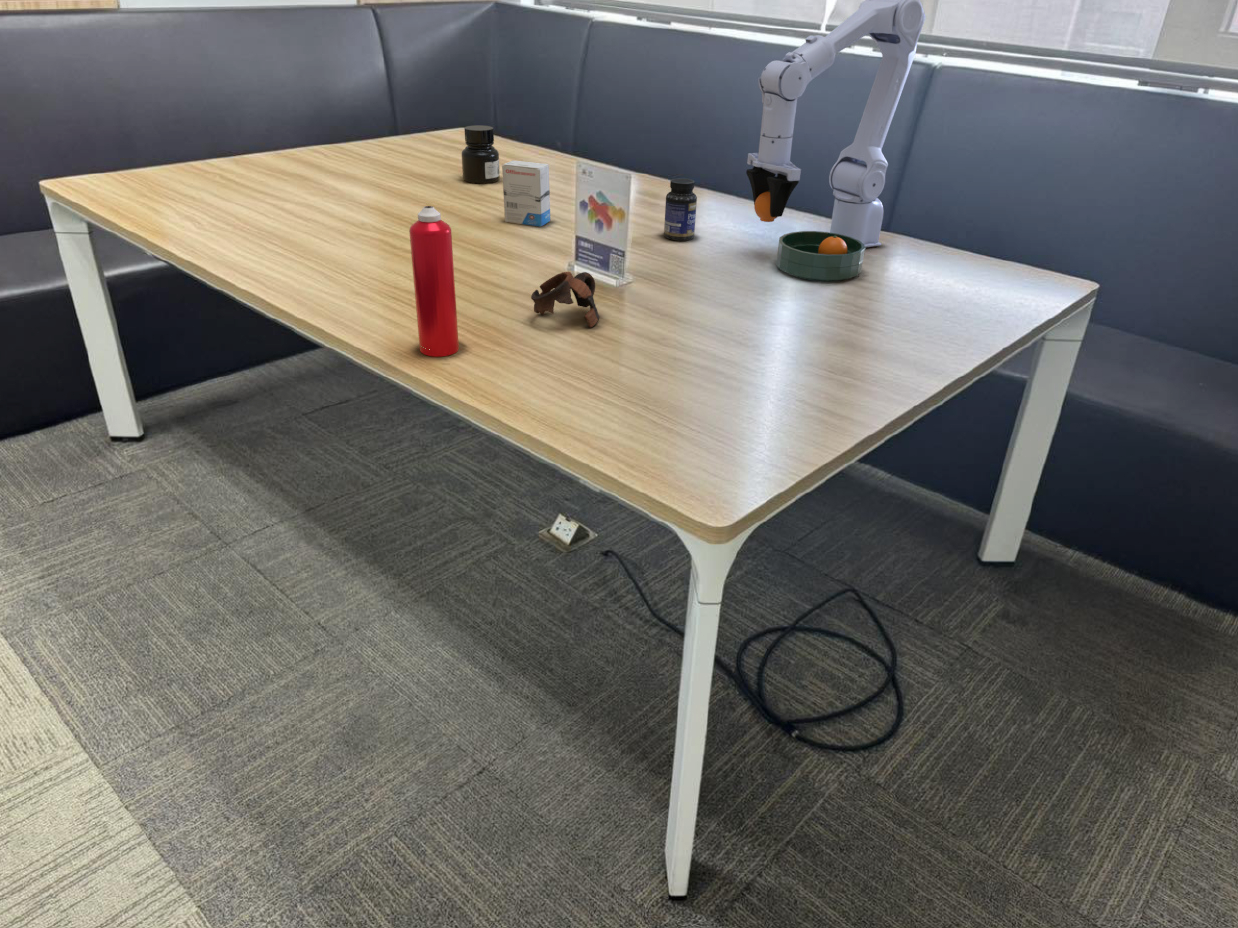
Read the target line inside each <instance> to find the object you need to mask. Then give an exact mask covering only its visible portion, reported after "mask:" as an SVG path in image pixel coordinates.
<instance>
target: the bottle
mask: <svg viewBox="0 0 1238 928" xmlns="http://www.w3.org/2000/svg"><path fill="white" fill-rule="evenodd" d="M408 231H409V242H410V253H411V264H412V277H413V287H414V288H413V289H414V300H415V310H416V321H417V334H418V345H419V352H420V353H421V354H423V355H425V356H429V357H435V358H437V357H447V356H448V357H449V356H451V355H454V354H456V353H458V351H459V350H460V345H459V344H460V342H459V329H458V327H459V325H458V313H457V311H458V310H457V298H456V297H457V296H456V283H455V282H456V281H455V268H454V267H455V266H454V251H453V250H454V249H453V236H452V235H453V233H452V228H451V226H450V224H449V223H447V222H445V221H444V220H442V217H441V212H440V211H437V209H436V208H435V207H434V206H433V205H425V206H423V207H422V209H421V210H420V211H419V212H418V213H417V221H415V222H414V223H412V224H411V225H410V227H409V230H408ZM420 345H421V346H422V347H421V346H420ZM423 347H424V348H423ZM425 348H426V349H425ZM429 349H430V350H429Z"/></svg>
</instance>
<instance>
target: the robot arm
mask: <svg viewBox="0 0 1238 928" xmlns="http://www.w3.org/2000/svg"><path fill="white" fill-rule="evenodd" d="M859 3H860V4H859V6H858V9H857V10H855V11H854V12H853V13H852V14H851V15H849V17H847V18H846V19H845V20H843V21H842V22H841V23H840V24H839V25H837V26H836V27H835V28H833V30H831V31H830V32H829V33H827V34H826V35H825V36H824V35H820V34H816V35H811V34H810V35H808V36H807V37H806V38H805V42H804V43H803V44H801V45H799V46H798V47H797V48H795V50H793V51H788V52H787V53H786V54H785V55H784V57H783V58H782V59H781V60H772V61H770V62H769V63H768V64H767V65H766V66H765V67H764V68H763V70H762V71H761V75H760V77H758V78H757V79H758V81H757V82H758V88H759V90H760V92H761V103H762V113H761V115H762V116H761V125H760V134H759V135H760V136H759V145H758V152H752V153H747V161H746V164H747V165H749V166H752V168H748V169H746V170H745V171H746V172H745V173H746V175H747V178H748V180H749V184H750V187H751V190H752V191H751V192H752V198H753V205H755V201H756V199H757V197H758V196H759V195H760V194H762V193H764V192H767V191H769V190H770V215H771V217H777V218H778V217H780V218H781V217H782V216H783V214H784V211H785V209H786V205H787V203H788V202H789V198H790V197H791V195H792V193H793V191H794V190H795V188H796V187H797V186H798V184H799V183H800V180H801V173H802V172H801V171H802V169H801V168H800V167H797V166H796V165H795V164H794V163H793V162H792V161H791V154H792V146H793V138H794V130H795V121H796V114H797V113H796V112H797V105H798V98H801V97H802V95H803V94H804V93H805V91H806V89H807V86H808V85H809V83H811V81H813V79H815V78H816V77H818V76H819V75H820V74H822V73H824V72H825V71H826V70H827V69H829V68H831V67H832V65H834V63H835V59H836V55H837V54H839V53H840V52H841V51H843V50H845V49H846V48H848V47H850V46H851V45H853V44H854V43H856V42H857V41H859V40H861V39H862V38H864V37H865V36H867V35H868V36H869V37H870V38H871V40H873V42H874V43H875V45H876V46H877V47H878V48H879V50H880V53H881V55H882V57H881V60H880V63H879V67H878V68H877V71H876V75H875V78H874V80H873V84H872V86H871V90H870V93H869V95H868V97H867V101H866V104H865V107H864V110H863V113H862V116H861V119H860V122H859V125H858V127H857V129H856V130H857V131H856V133H855V136H854V138H853V142H852V143H851V144H850V145H848V146H846V147H845V148H843V149H842V150H841V151H840V153H839V156H838V158H837V160H836V162H835V163H834V164H833V166H832V167H831V169H830V172H829V175H828V184H829V186H830V188H831V189H832V190H833V192H832V195H833V196H834V202H833V209H832V215H831V222H830V229H829V232H831V233H837V234H842V235H846V236H849V237H852V238H855V239H857V240H859V241H861V242H862V243H863V244H864V245H865V248H873V247H881V245H882V243H881V242H880V235H881V230H882V224H883V220H884V206H883V203H882V201H881V200H880V199H879V198H878V197H879V196H880V195H881V193H882V192H883V190H884V189H885V184H886V173H887V170H888V166H889V163H888V161H887V159H886V157H885V156H884V153H883V152H882V149H883V146H884V144H885V141H886V138H887V135H888V134H889V133H888V132H889V129H890V126H891V124H892V121H893V118H894V116H895V112H896V110H897V107H898V104H899V101H900V98H901V95H902V92H903V90H904V87H905V84H906V82H907V79H908V76H909V73H910V70H911V67H912V64H913V62H914V59H915V55H916V53H917V46H918V42H919V39H920V35H921V32H922V30H923V27H924V24H925V21H926V19H927V15H926V13H925V9H924V7H923V4H922V1H921V0H863V1H861V2H859ZM860 162H864V163H865V164H864V163H860Z"/></svg>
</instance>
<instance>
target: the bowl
mask: <svg viewBox="0 0 1238 928" xmlns="http://www.w3.org/2000/svg"><path fill="white" fill-rule="evenodd" d="M833 236H837V237H839V238H841V239H842V240H843V241H844V242H845V243H846V245H847V254H841V255H827V254H818V249H819V246H820V244H821V242H822V241H823V240H825V239H826V238H828V237H833ZM865 251H866V247H865V245H864V244H863V243H862V242H861V241H859V240H857V239H855V238H852V237H849V236H846V235H842V234H837V233H831V232H830V231H819V230H800V231H792V232H788V233H785V234H783V235H781V236H779V239H778V245H777V252H776V253H777V254H776V261H775V262H776V263H775V266H776V267H777V268H778V269H779V270H781V271H783V272H785V273H786V274H788V275H789V276H793V277H796V278H799V279H804V280H809V281H813V282H815V281H816V282H839V281H840V282H841V281H845V280H848V279H852V278H854V277H857V276H859V275H860V274H861V272H862V269H863V263H864V257H865Z"/></svg>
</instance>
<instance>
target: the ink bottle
mask: <svg viewBox="0 0 1238 928" xmlns="http://www.w3.org/2000/svg"><path fill="white" fill-rule="evenodd" d="M464 144H465V145H466V146H465V147H464V149H462V151H461V168H462V179H463V181H465V182H467V183H471V184H490V183H491V184H492V183H495V182H498V181H500V177H501V176H500V175H501V174H500V153H499V151H498V149H496V148H495V146H493V145H494V144H495V134H494V126H490V125H481V124H480V125H467V126H465V127H464Z"/></svg>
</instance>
